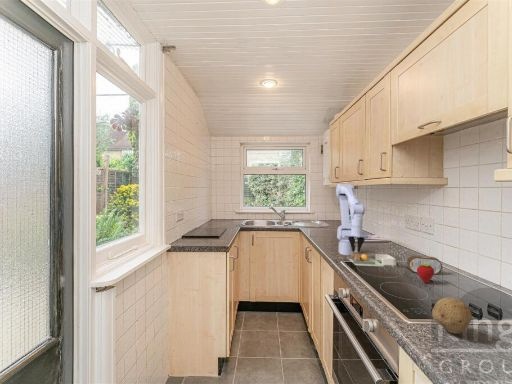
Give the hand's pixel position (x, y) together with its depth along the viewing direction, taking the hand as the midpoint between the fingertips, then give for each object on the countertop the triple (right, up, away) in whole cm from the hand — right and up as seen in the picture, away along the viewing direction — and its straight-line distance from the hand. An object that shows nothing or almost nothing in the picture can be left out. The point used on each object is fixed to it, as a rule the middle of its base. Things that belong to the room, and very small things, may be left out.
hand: (355, 251), depth 150 cm
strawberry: (+20, -8, -29) cm, 36 cm away
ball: (+4, -4, 0) cm, 6 cm away
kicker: (0, -6, 0) cm, 6 cm away
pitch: (+8, -7, 0) cm, 11 cm away
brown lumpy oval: (+1, -8, -71) cm, 71 cm away
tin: (+29, -8, -14) cm, 33 cm away
